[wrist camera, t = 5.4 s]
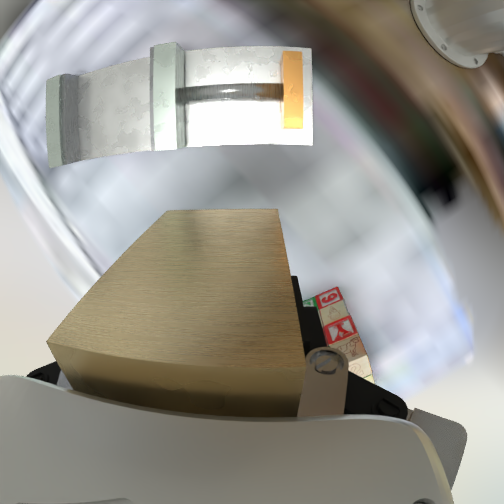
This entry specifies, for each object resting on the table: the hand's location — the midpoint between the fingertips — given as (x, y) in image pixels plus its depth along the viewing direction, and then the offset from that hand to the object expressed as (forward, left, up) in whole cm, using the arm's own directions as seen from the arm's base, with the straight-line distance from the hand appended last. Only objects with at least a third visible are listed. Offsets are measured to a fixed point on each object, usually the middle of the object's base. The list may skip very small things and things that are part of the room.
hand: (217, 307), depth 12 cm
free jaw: (+1, -11, -17) cm, 20 cm away
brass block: (0, 0, -3) cm, 3 cm away
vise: (+7, -11, -19) cm, 23 cm away
